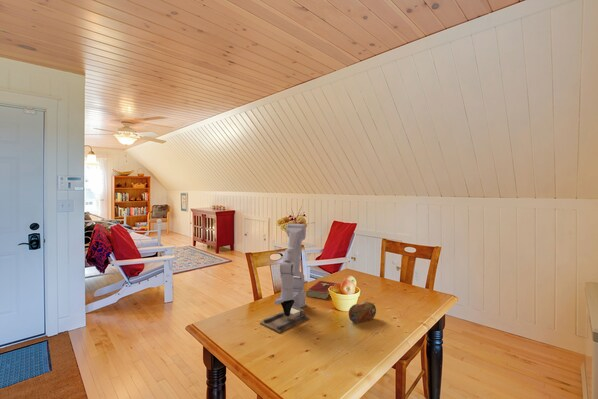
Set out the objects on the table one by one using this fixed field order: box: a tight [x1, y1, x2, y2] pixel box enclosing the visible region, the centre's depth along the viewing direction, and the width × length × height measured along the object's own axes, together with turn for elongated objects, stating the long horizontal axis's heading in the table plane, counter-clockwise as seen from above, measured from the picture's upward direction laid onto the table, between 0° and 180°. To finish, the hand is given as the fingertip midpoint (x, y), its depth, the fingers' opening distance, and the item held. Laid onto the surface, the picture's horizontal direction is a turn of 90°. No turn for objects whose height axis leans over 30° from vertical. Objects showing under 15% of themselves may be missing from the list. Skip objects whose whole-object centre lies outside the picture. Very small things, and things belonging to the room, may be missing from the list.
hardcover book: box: [305, 280, 338, 300], centre depth 178 cm, size 12×21×4 cm, turn 155°
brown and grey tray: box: [259, 306, 310, 334], centre depth 138 cm, size 20×13×4 cm, turn 138°
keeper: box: [284, 308, 300, 319], centre depth 142 cm, size 5×6×3 cm
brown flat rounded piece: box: [348, 301, 377, 325], centre depth 140 cm, size 15×3×8 cm, turn 117°
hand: (286, 315), depth 139 cm, fingers closed
